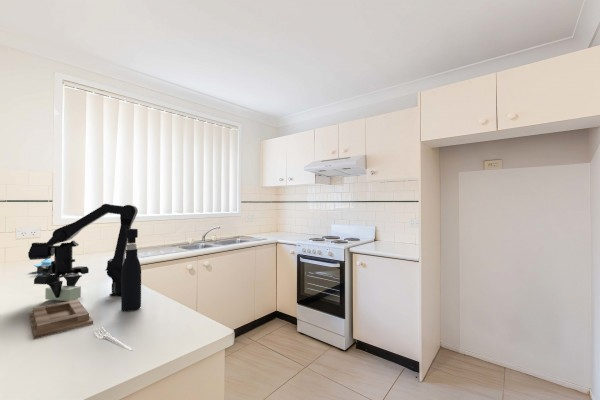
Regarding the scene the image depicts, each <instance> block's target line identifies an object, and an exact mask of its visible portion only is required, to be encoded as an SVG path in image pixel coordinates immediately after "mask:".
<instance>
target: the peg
mask: <svg viewBox="0 0 600 400" xmlns="http://www.w3.org/2000/svg"><path fill="white" fill-rule="evenodd" d="M81 288H82V287H81V286H79V285H77V286H76V285H75V286H67V285H62V287H61V292H60V296H59V298H56V297H55V295H54V293H53V291H52V289H51V288H50V286H49V287H46V288H45V297H44V298H45V300H49V301H50V300H51V301H63V302H67V301H72V300H77V299H80V298H81V297H82V296H81V294H82V293H81V292H82V289H81Z"/></svg>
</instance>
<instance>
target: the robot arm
mask: <svg viewBox="0 0 600 400" xmlns="http://www.w3.org/2000/svg"><path fill="white" fill-rule="evenodd" d="M107 214H113V215H119V216H120V217H119V218H120V219H119V221H120V226H119V233H118V236H117V241H116V245H115V250H114V255H113V257H112V258H110V259H108V260H107V265H106V269H105V270H104V271H106V275H107V277H109V278H110V279H111V281H112V283H111V292H110V293H109V296H116V297H117V296H118V297H119V296H121V274H122V267H123V263H124V260H125V258H126V250H127V245H128V238H126V229H132V225H133V223H134V221H135V219H136V217H137V214H138V207H136V206H135V205H134V204H125V205H119V204H118V205H117V204H116V205H115V204H111V203H104V204H102V205H101V206H99V207H98V208H96V209H95V210H93V211H91V212H89V213H87V214H86V215H84V216H82V217H81V218H79V219H78V220H76V221H73V222H71V223H68V224H67V225H66V224H65V225H63V226H61V227H59V228H57V229H55V230H53V232H52V236H51V238H50V239H48V240H47V242H31V246H30V248H29V251H28V253H27V255H28V256H27V257H28V259H29V260H30V261H31V260H32V261H35V260H36V261H37V260H45V259H48V260H51V258H52V257H53V256H54V259H53V260H51V261H52V262H51V265H50V266H45V265H42V266H38V267H36V273H37V274H42V275H38V276H35V277H34V278H33V279H34V280H33V285H47V286H49V287H50V288H51V289H52V291H53V293H54V295H55V297H56V298H59V296H60V292H61V287H62V286H63V284H64V283H63V280H61V278H64V279H65V281H66V286H76V284H77V283H78V281H79V280H80V278H82V275H86V274H89V267H87V266H79V265H78V266H73V263H75V262H76V259H73V248H74V247H77V246H79V243H78V242H76V241H75V240H72V239H74V237H76V236H77V235H78V234H79V233H81V232H82V230H83V229H85V228H87V227H88V226H89V225H92V224H93V223H94V222H96V221H97V220H99V219H101V218H103V217H104V216H105V215H107ZM70 240H71V241H70ZM67 241H70V242H67ZM58 244H59V245H58Z"/></svg>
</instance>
